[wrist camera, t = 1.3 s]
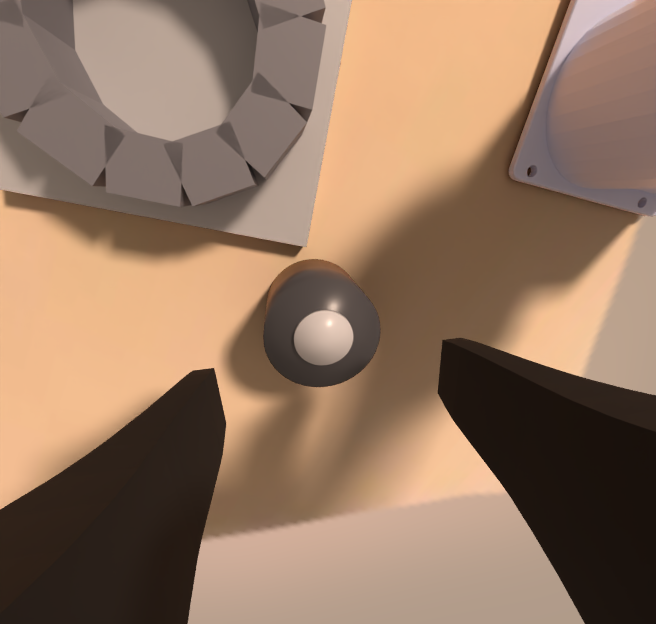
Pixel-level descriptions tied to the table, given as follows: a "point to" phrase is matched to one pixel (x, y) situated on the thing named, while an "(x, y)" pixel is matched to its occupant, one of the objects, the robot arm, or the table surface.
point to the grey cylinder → (319, 324)
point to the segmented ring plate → (172, 107)
